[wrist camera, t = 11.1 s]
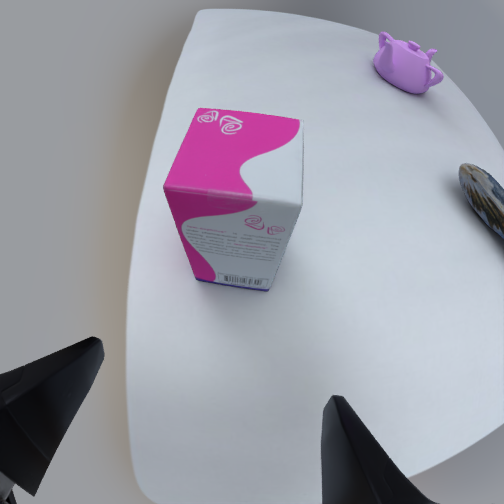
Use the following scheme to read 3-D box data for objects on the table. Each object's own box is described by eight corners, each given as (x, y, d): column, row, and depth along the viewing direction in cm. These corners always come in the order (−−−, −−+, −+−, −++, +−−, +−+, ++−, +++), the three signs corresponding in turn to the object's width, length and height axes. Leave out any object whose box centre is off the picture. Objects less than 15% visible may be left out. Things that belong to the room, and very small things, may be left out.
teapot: (421, 79, 40) (437, 49, 32) (430, 111, 34) (452, 74, 26) (370, 55, 41) (382, 21, 33) (368, 80, 35) (384, 38, 27)
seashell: (469, 269, 23) (499, 251, 18) (437, 175, 28) (457, 151, 23) (523, 264, 24) (546, 250, 19) (497, 189, 29) (514, 172, 24)
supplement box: (277, 224, 23) (308, 118, 13) (268, 293, 21) (306, 214, 10) (209, 214, 23) (196, 103, 13) (193, 280, 21) (157, 192, 10)
